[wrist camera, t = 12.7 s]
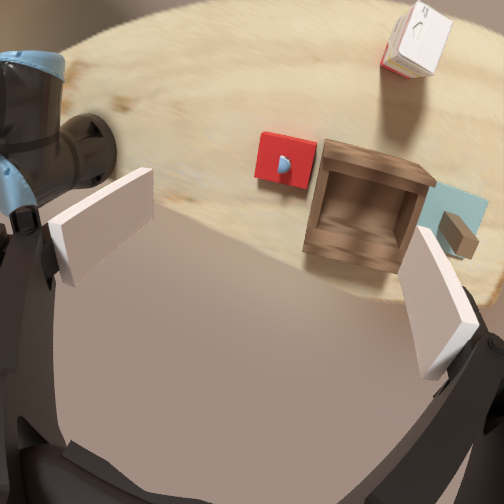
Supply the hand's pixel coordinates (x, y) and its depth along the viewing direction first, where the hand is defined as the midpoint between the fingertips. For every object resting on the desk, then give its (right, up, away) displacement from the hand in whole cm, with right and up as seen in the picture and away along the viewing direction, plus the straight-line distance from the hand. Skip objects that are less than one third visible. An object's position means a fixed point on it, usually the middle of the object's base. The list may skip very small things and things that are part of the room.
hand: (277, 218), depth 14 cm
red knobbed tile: (+4, +13, +31) cm, 34 cm away
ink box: (+20, +27, +18) cm, 38 cm away
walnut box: (+16, +7, +30) cm, 35 cm away
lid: (+31, +4, +28) cm, 42 cm away
